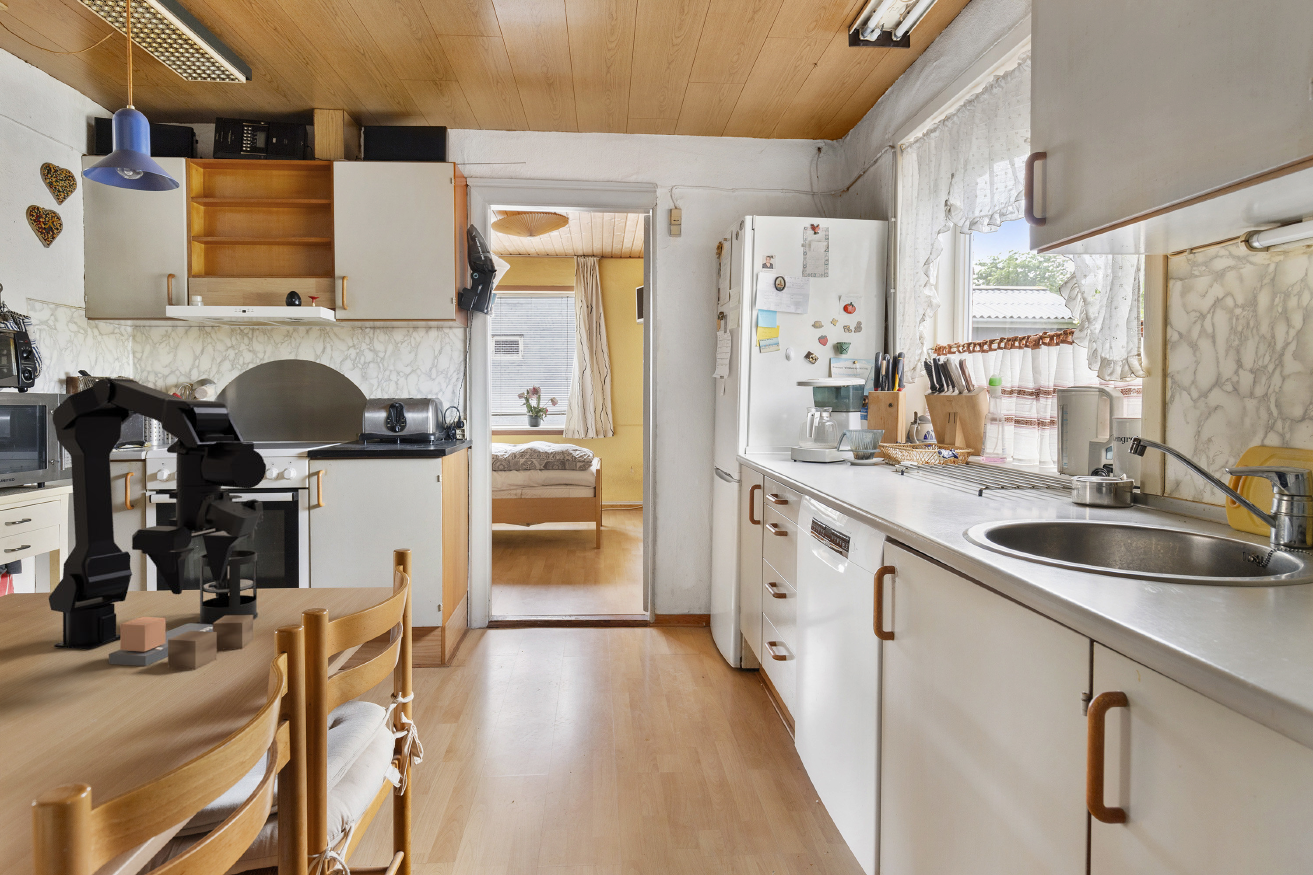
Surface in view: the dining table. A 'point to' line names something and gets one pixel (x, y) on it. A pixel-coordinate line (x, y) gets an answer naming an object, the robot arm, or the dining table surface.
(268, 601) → the dining table surface
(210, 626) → the base
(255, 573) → the french press
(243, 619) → the walnut block far
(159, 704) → the dining table surface
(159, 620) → the salmon pink cube
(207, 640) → the walnut block near
